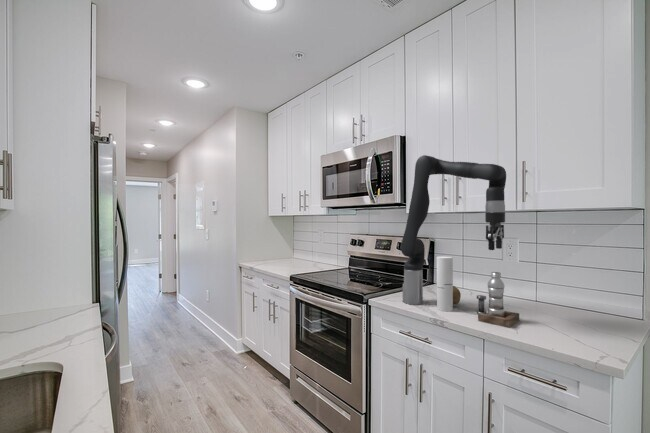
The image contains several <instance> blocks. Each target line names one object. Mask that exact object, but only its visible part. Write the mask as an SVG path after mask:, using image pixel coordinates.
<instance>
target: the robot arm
mask: <svg viewBox="0 0 650 433" xmlns="http://www.w3.org/2000/svg"><path fill="white" fill-rule="evenodd" d="M414 166H415V167H414V179H413V187H412V192H411V199H410V203H409V208H408V214H407V220H406V226H405V230H404V233H403V236H402V239H401V245H400V250H401V253H402V255H403V256H405V257H408V259H407V260H406V262H405V263H404V264H403V283H402V303H405V304H407V305H414V306H415V305H416V306H417V305H418V306H419V305H422V304H423V303H424V302H423V301H424V300H423V299H424V291H423V290H424V288H423V287H424V285H423V284H424V282H423V281H424V280H423V279H424V277H423V275H424V274H423V268H424V267H423V266H424V264H425V243H424V242H423V240H422V239H420V238H419V237H418V234H419V230H420V229H421V227H422V226H423V224H424V222H425V220H426V218H427V217H428V215H429V214H428V213H429V209H430V203H431V202H430V193H429V187H428V186H429V179H430V176H431V175H449V176H455V177H458V178H464V179H471V180H472V179H473V180H477V179H478V180H482V181H483V180H484V181H488V188H486V190H485V206H484V208H485V216H484V217H485V222H486V223H489V225H485V240H486V241H488V242H487V244H488V247H487V248H488V250H489V251H494V250H496V249H499V250H500V249H502V246H503V240H504V238H505V225H504V223H506V204H505V203H506V202H505V187H506V182H507V171H506V169H505V168H504V166H501V165H499V164H495V163H477V162H471V161H470V162H468V161H448V160H442V159H439V158H436V157H434V156H430V155H428V154H427V155H426V154H424V155H421V156H419V157H418V159H417V160H416V163H415V164H414ZM502 223H503V224H502Z"/></svg>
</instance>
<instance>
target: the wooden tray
mask: <svg viewBox="0 0 650 433" xmlns="http://www.w3.org/2000/svg"><path fill="white" fill-rule="evenodd" d="M504 311H505V317H504V318H502V317H498V316H493V315H488V313H486V314H483V313H479V314H477V322H482V323H486V324H490V325H494V326H495V325H496V326H498V327H499V326H500V327H504V328H508V329H509V328H511V327H513V326H514V325H515V324H517V323H518V322H519V321H520V313H519V312H515V311H514V312H513V311H508V310H504Z"/></svg>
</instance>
